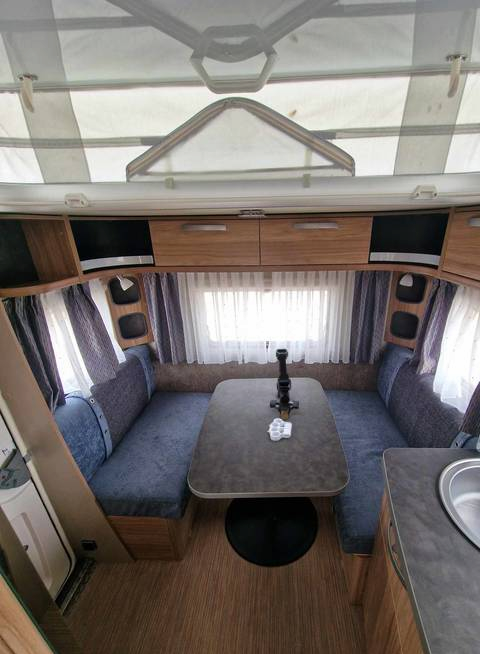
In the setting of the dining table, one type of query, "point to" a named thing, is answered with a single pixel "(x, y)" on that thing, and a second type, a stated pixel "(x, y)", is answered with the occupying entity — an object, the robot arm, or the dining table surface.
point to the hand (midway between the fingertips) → (284, 414)
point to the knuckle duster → (279, 429)
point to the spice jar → (284, 414)
